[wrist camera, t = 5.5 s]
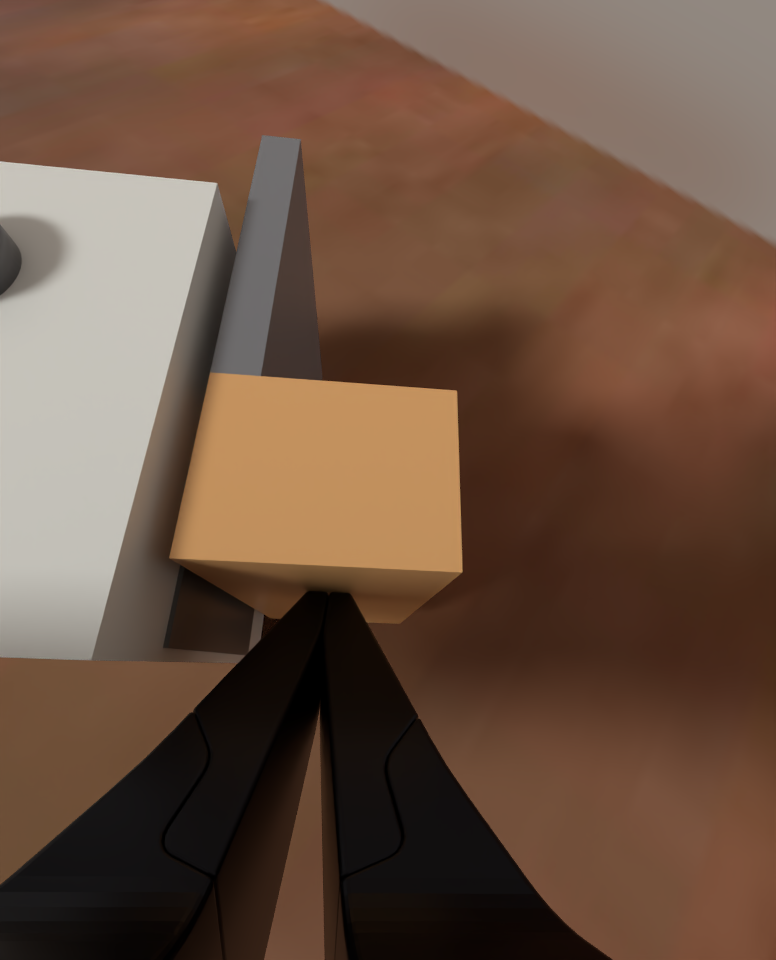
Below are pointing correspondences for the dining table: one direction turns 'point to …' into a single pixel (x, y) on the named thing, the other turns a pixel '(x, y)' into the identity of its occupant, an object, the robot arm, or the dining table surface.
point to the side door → (311, 443)
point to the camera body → (107, 414)
